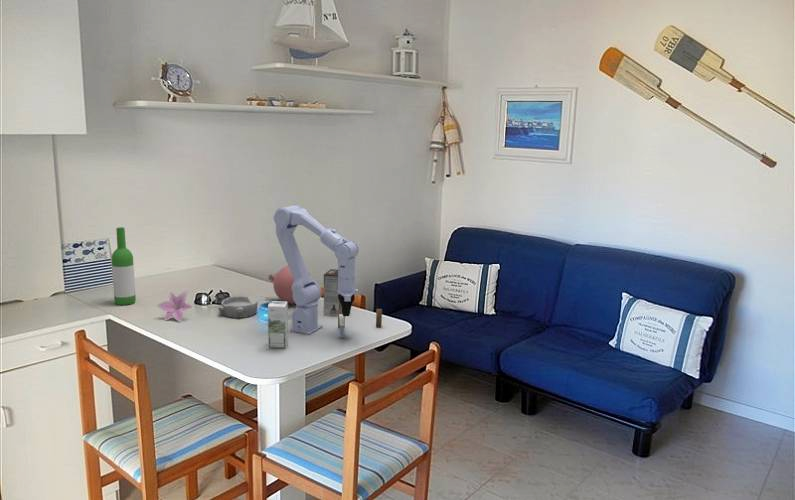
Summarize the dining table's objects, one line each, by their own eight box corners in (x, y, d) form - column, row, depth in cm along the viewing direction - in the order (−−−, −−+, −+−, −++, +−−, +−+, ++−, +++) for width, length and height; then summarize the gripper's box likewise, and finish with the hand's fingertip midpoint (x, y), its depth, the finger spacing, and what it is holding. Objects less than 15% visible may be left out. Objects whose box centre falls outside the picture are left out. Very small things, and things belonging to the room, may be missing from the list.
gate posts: (338, 328, 228) (338, 311, 227) (337, 326, 231) (337, 309, 229) (381, 327, 230) (382, 310, 229) (381, 325, 233) (381, 308, 231)
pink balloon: (283, 293, 271) (282, 258, 267) (320, 301, 260) (320, 264, 257) (257, 302, 258) (256, 264, 255) (295, 311, 247) (294, 272, 244)
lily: (155, 319, 237) (150, 301, 230) (180, 301, 244) (176, 283, 238) (177, 334, 232) (173, 317, 226) (202, 315, 240) (198, 298, 233)
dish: (239, 305, 253) (238, 293, 252) (265, 312, 246) (265, 299, 245) (211, 315, 241) (211, 302, 240) (238, 321, 234) (238, 308, 233)
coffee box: (330, 308, 252) (330, 268, 249) (346, 309, 251) (346, 269, 248) (323, 315, 243) (323, 274, 240) (339, 316, 242) (339, 275, 239)
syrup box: (288, 342, 214) (287, 300, 211) (285, 348, 208) (285, 305, 205) (271, 342, 214) (270, 300, 210) (268, 348, 208) (267, 305, 205)
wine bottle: (133, 299, 257) (129, 225, 251) (137, 304, 251) (133, 228, 245) (113, 301, 253) (107, 227, 247) (116, 306, 247) (111, 230, 241)
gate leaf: (339, 327, 228) (339, 314, 227) (343, 327, 228) (343, 314, 227) (339, 338, 218) (339, 323, 217) (344, 337, 218) (344, 323, 217)
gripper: (360, 282, 210) (359, 322, 213) (356, 271, 224) (356, 309, 227) (338, 283, 209) (338, 322, 212) (336, 272, 223) (336, 309, 226)
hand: (346, 315), depth 220 cm, fingers closed
